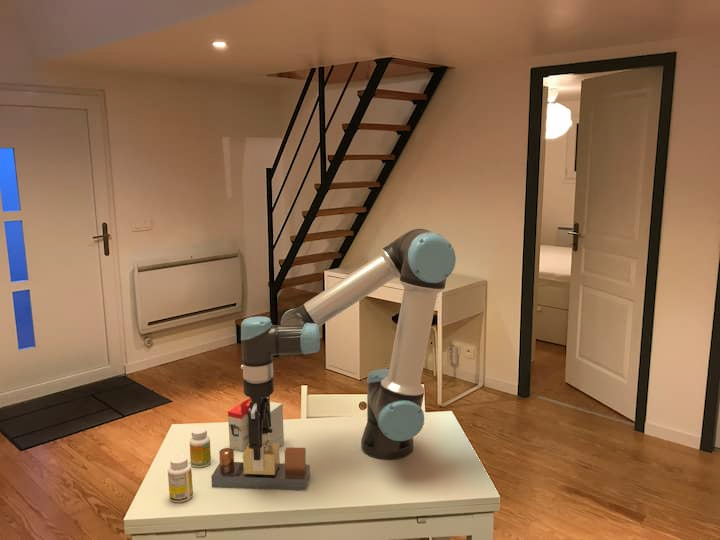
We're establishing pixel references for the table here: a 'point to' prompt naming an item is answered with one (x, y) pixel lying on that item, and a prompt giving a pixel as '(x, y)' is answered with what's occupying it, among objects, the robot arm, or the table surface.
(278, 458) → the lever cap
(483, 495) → the table surface
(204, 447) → the supplement bottle
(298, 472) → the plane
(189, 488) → the supplement bottle
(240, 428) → the ink box
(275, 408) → the supplement box
